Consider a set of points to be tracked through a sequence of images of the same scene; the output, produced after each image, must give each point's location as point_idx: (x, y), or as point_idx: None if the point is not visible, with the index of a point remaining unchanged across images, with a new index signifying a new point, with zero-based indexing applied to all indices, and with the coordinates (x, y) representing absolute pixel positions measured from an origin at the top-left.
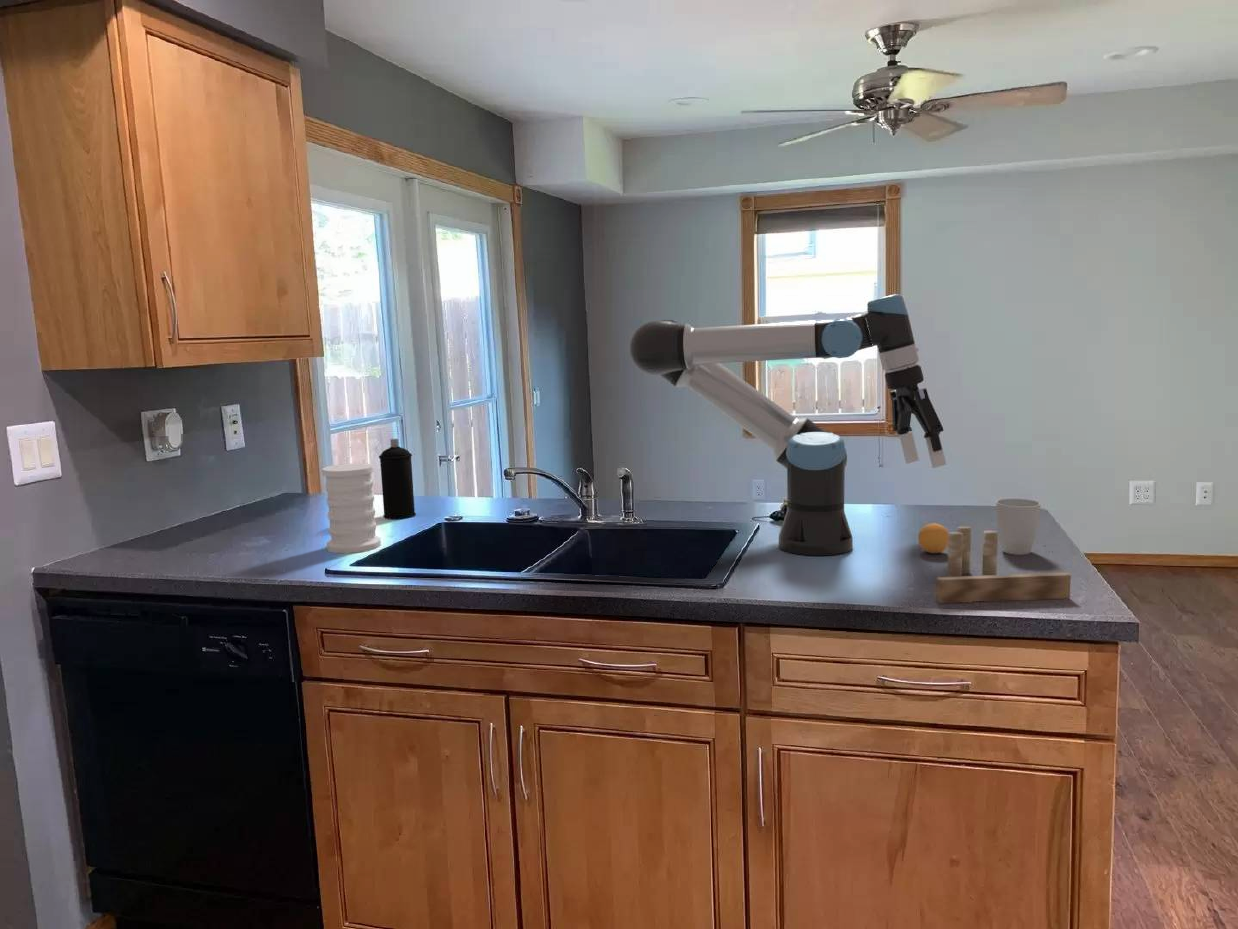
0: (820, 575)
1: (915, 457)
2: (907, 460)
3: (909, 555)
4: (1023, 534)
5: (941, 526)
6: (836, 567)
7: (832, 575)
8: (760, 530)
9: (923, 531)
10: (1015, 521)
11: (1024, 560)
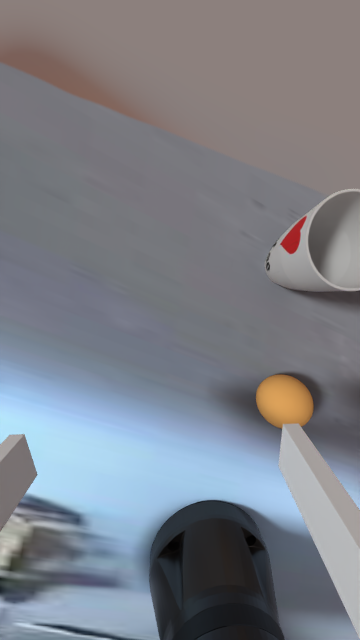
0: None
1: (16, 458)
2: (28, 485)
3: (277, 429)
4: (337, 261)
5: (306, 401)
6: None
7: None
8: (78, 624)
9: None
10: (356, 272)
11: None
